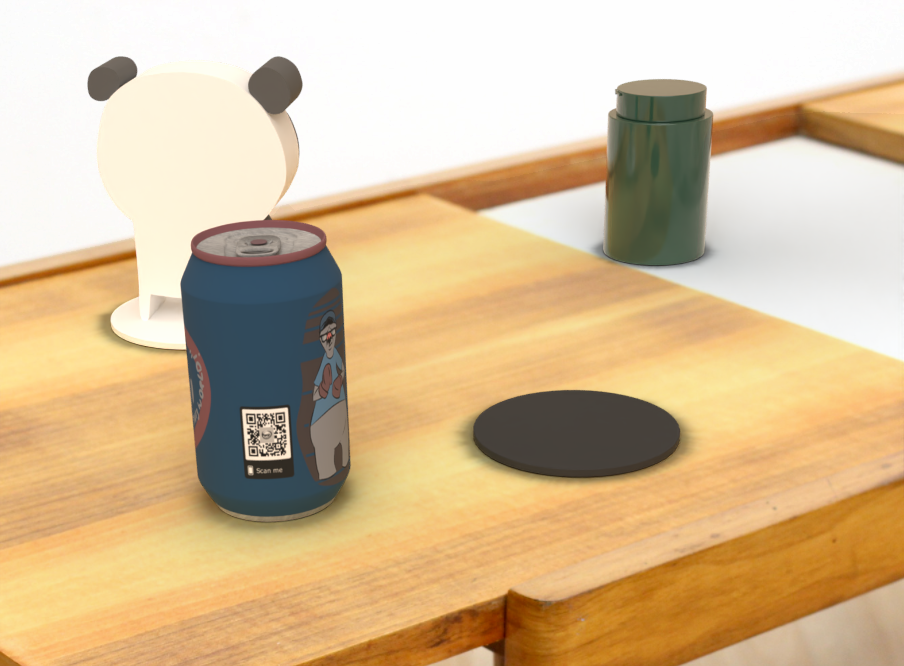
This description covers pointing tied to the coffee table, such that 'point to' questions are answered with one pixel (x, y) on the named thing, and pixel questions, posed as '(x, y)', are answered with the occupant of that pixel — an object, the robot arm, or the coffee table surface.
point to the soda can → (267, 368)
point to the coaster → (576, 433)
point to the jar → (657, 172)
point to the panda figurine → (189, 167)
